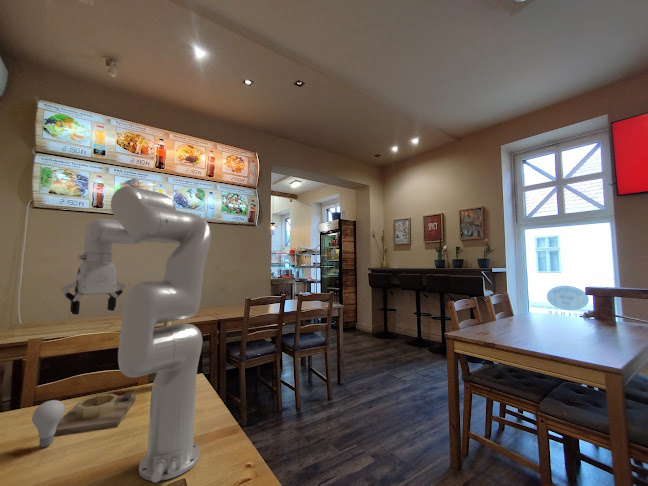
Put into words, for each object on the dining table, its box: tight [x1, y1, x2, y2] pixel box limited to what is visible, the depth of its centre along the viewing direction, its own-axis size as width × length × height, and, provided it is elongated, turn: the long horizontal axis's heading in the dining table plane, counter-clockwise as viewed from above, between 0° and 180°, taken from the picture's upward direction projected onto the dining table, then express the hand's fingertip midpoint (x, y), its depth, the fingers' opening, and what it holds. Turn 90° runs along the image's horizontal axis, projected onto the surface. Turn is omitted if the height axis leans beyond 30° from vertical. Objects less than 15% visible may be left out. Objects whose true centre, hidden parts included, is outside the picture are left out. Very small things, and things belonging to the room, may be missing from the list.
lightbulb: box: [31, 399, 66, 448], centre depth 74 cm, size 6×6×11 cm
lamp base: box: [54, 392, 137, 437], centre depth 88 cm, size 18×16×3 cm
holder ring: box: [75, 393, 120, 420], centre depth 89 cm, size 10×10×3 cm
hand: (93, 312), depth 93 cm, fingers open, 9 cm apart
